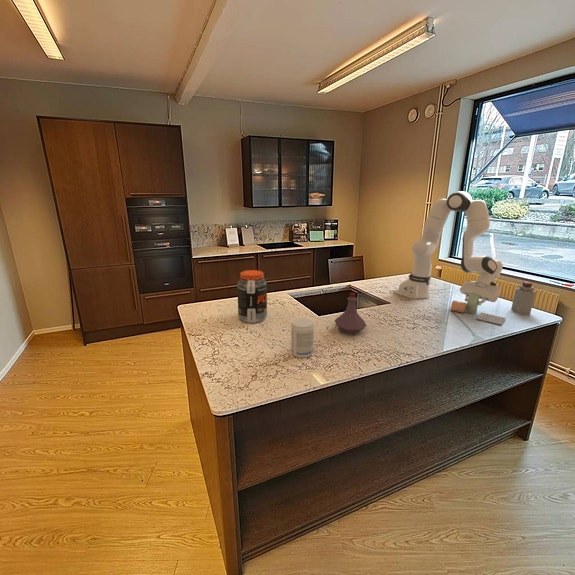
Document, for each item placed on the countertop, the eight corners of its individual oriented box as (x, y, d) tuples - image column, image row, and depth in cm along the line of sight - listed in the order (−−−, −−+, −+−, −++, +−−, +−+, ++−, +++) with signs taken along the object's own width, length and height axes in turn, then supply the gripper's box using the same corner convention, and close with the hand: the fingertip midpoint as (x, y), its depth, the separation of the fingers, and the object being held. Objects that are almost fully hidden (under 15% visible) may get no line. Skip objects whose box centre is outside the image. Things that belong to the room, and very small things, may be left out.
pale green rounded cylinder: (464, 312, 189) (467, 294, 186) (466, 309, 193) (470, 292, 190) (475, 314, 185) (478, 296, 182) (477, 311, 190) (480, 294, 186)
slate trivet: (476, 319, 178) (476, 318, 178) (480, 313, 187) (481, 312, 187) (501, 325, 171) (501, 324, 171) (505, 319, 179) (505, 317, 179)
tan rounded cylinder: (451, 301, 188) (454, 299, 193) (450, 311, 190) (452, 308, 194) (465, 304, 184) (467, 302, 188) (463, 314, 185) (465, 311, 190)
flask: (327, 326, 167) (329, 290, 161) (354, 322, 173) (357, 286, 167) (344, 340, 153) (347, 300, 146) (373, 335, 158) (377, 296, 152)
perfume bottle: (530, 313, 188) (537, 284, 182) (518, 313, 188) (525, 284, 182) (522, 309, 194) (529, 281, 188) (511, 309, 194) (517, 280, 189)
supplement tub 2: (317, 352, 141) (318, 321, 137) (304, 361, 134) (305, 329, 130) (300, 345, 147) (300, 315, 143) (286, 353, 140) (286, 322, 136)
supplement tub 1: (262, 325, 168) (262, 277, 160) (234, 322, 171) (232, 275, 163) (270, 313, 183) (270, 269, 175) (244, 311, 185) (242, 268, 178)
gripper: (465, 276, 196) (453, 294, 193) (501, 285, 180) (489, 305, 177) (467, 282, 199) (456, 300, 197) (503, 291, 183) (491, 310, 181)
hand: (472, 302), depth 187 cm, fingers open, 6 cm apart
